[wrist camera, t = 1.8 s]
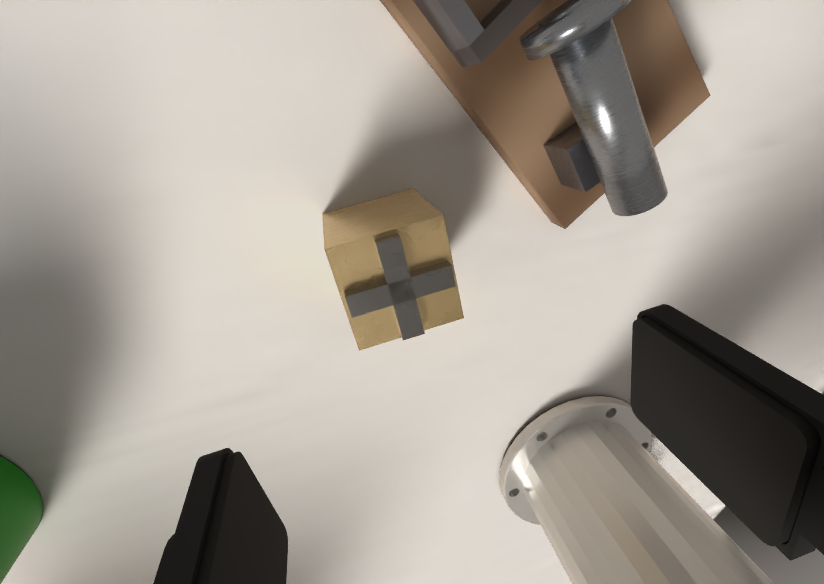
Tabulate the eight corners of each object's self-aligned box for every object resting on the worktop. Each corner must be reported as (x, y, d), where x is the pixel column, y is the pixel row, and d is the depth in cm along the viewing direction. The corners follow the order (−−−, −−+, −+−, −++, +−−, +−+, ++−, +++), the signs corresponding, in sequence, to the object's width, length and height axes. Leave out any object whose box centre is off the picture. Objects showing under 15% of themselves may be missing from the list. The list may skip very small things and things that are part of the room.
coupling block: (412, 188, 22) (447, 218, 17) (431, 271, 25) (468, 324, 19) (322, 213, 22) (324, 253, 16) (349, 295, 24) (360, 357, 18)
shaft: (478, 51, 20) (550, 28, 14) (547, 1, 20) (651, -45, 14) (550, 202, 24) (630, 236, 18) (608, 161, 24) (711, 182, 18)
